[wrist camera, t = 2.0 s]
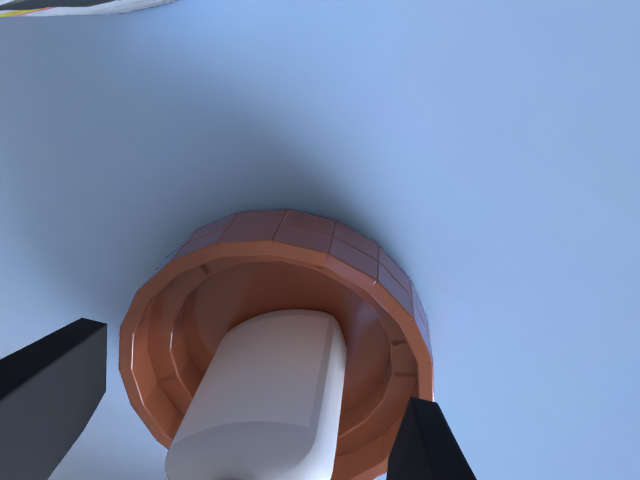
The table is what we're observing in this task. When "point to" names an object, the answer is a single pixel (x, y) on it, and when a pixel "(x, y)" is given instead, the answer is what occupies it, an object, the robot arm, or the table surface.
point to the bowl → (273, 295)
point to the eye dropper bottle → (266, 403)
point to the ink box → (73, 7)
